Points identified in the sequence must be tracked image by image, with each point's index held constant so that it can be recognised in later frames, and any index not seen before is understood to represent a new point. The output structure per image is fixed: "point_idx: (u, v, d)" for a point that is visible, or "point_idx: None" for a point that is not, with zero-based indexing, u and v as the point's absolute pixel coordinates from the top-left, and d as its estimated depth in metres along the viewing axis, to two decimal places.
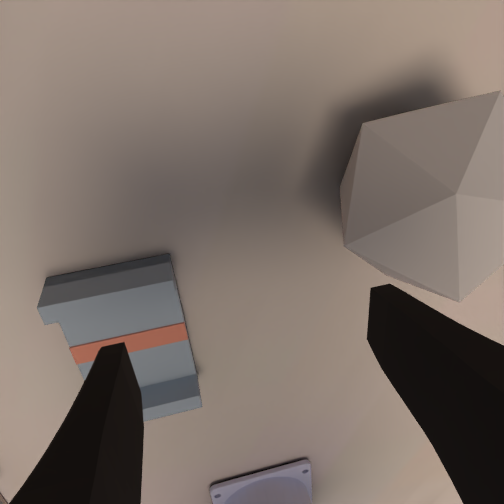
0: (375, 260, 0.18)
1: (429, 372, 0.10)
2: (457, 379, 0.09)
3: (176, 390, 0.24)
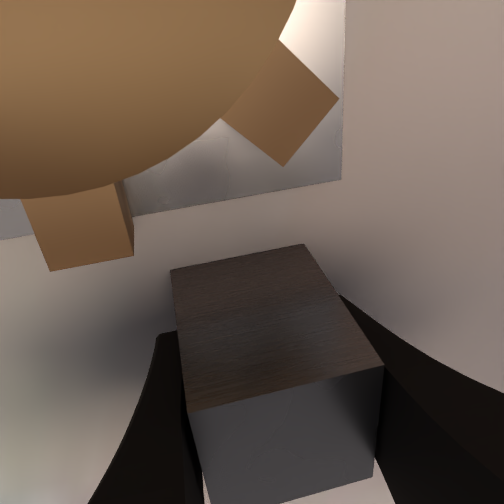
0: None
1: None
2: (392, 396, 0.09)
3: None
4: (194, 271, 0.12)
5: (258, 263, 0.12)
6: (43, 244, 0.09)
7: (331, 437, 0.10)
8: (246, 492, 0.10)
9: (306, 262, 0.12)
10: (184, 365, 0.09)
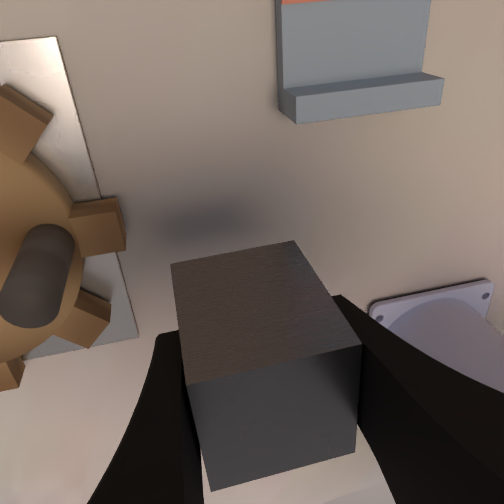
0: None
1: (370, 387, 0.10)
2: (392, 396, 0.09)
3: (404, 79, 0.17)
4: (192, 264, 0.13)
5: (251, 257, 0.13)
6: None
7: (316, 412, 0.11)
8: (239, 463, 0.11)
9: (295, 256, 0.13)
10: (183, 345, 0.10)
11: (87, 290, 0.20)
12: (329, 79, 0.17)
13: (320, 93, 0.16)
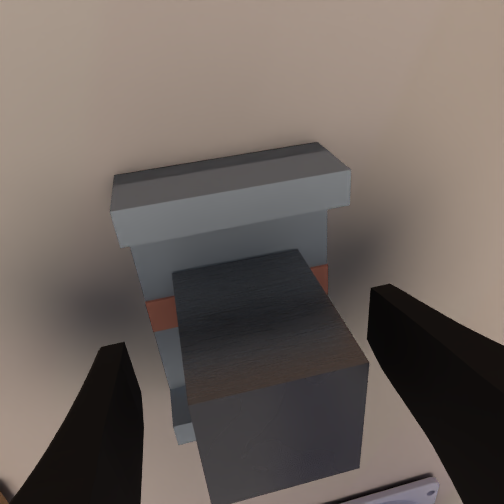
0: None
1: (429, 372, 0.10)
2: (457, 379, 0.09)
3: None
4: (194, 274, 0.13)
5: (254, 267, 0.13)
6: None
7: (320, 429, 0.10)
8: (241, 480, 0.11)
9: (299, 266, 0.13)
10: (185, 362, 0.10)
11: None
12: None
13: None
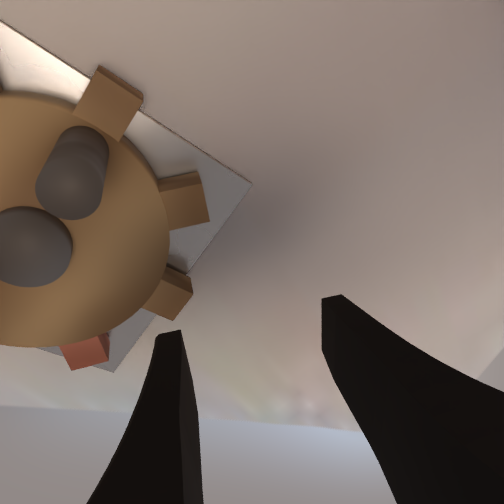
0: None
1: (371, 387, 0.10)
2: (393, 396, 0.09)
3: None
4: None
5: None
6: (161, 314, 0.20)
7: None
8: None
9: None
10: None
11: (169, 176, 0.19)
12: None
13: None
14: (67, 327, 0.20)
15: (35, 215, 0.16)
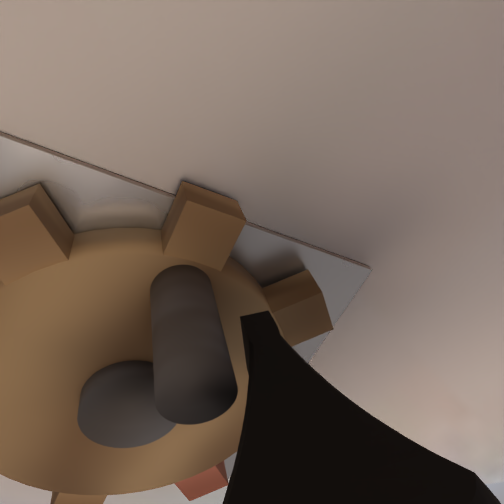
0: None
1: None
2: None
3: None
4: None
5: None
6: None
7: None
8: None
9: None
10: None
11: (274, 281, 0.15)
12: None
13: None
14: (181, 465, 0.17)
15: (136, 375, 0.13)
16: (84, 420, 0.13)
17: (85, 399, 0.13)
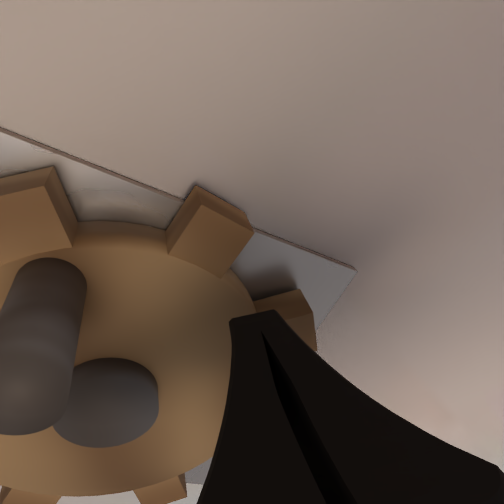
0: None
1: (289, 407, 0.10)
2: (302, 419, 0.09)
3: None
4: None
5: None
6: None
7: None
8: None
9: None
10: None
11: (258, 280, 0.15)
12: None
13: None
14: (219, 427, 0.16)
15: (77, 380, 0.13)
16: (69, 435, 0.13)
17: None
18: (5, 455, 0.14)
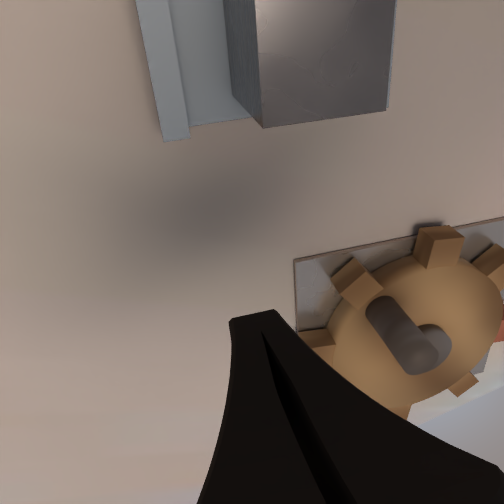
0: None
1: (290, 407, 0.10)
2: (302, 419, 0.09)
3: None
4: (231, 79, 0.16)
5: (228, 26, 0.15)
6: None
7: (324, 12, 0.12)
8: (361, 86, 0.13)
9: None
10: (253, 116, 0.14)
11: (469, 251, 0.25)
12: None
13: None
14: (483, 336, 0.27)
15: None
16: None
17: None
18: (381, 393, 0.27)
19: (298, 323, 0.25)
